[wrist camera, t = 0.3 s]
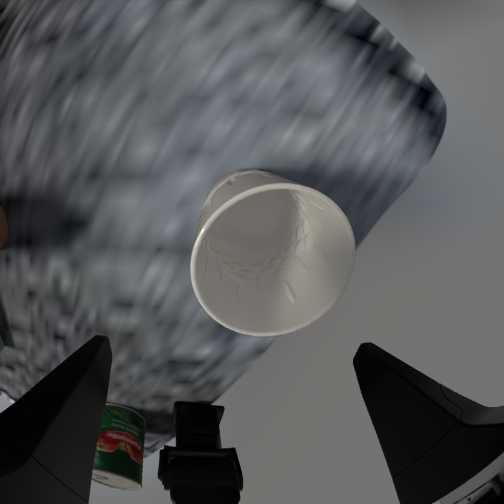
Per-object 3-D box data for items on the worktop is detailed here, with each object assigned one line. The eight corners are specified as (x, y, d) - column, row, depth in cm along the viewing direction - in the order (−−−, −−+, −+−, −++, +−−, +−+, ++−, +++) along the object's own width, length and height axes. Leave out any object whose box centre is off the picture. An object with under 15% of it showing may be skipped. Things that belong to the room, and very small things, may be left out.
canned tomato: (145, 409, 30) (140, 480, 20) (146, 433, 33) (144, 493, 23) (90, 397, 28) (75, 464, 18) (98, 423, 31) (89, 481, 21)
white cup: (282, 262, 24) (325, 338, 15) (190, 250, 22) (183, 330, 13) (305, 172, 21) (376, 204, 12) (206, 152, 19) (205, 166, 10)
